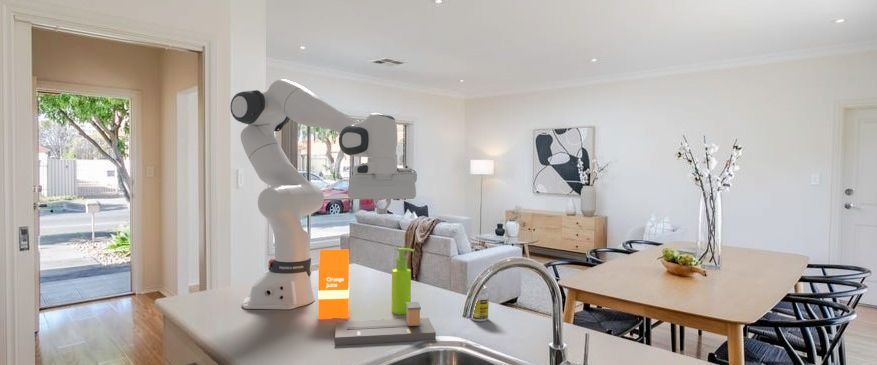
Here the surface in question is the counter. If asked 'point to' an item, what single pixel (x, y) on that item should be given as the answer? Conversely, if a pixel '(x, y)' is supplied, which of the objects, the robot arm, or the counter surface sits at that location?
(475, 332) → the counter surface
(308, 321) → the counter surface
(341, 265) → the orange juice
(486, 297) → the supplement bottle
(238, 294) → the counter surface
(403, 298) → the soap dispenser
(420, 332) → the board
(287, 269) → the robot arm
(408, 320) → the fader tab
